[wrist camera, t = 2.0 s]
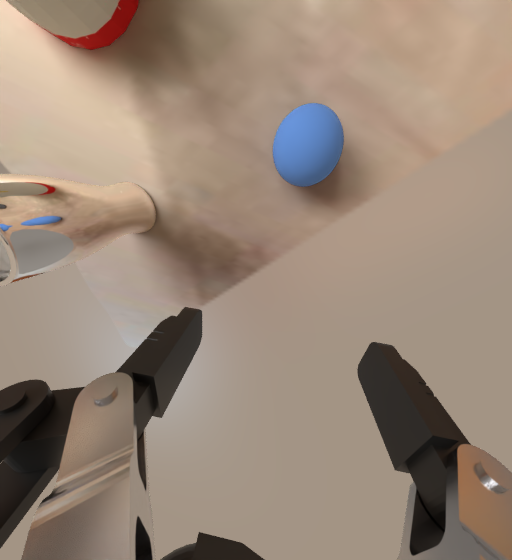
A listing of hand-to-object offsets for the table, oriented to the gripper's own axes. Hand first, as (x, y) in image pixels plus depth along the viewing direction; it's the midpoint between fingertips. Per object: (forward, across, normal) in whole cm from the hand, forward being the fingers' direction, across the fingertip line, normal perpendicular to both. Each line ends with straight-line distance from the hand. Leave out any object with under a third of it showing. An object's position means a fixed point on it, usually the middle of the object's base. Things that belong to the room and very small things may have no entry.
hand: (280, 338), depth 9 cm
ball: (+14, 0, -10) cm, 17 cm away
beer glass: (+17, +20, -2) cm, 26 cm away
